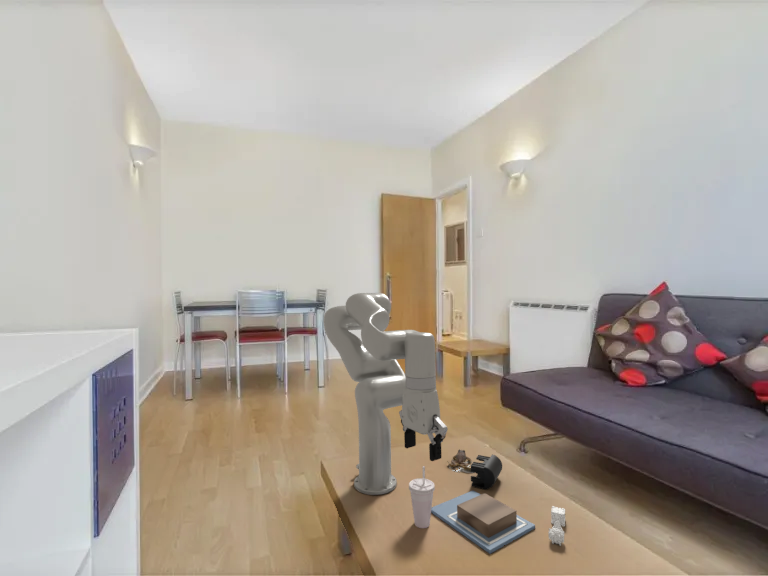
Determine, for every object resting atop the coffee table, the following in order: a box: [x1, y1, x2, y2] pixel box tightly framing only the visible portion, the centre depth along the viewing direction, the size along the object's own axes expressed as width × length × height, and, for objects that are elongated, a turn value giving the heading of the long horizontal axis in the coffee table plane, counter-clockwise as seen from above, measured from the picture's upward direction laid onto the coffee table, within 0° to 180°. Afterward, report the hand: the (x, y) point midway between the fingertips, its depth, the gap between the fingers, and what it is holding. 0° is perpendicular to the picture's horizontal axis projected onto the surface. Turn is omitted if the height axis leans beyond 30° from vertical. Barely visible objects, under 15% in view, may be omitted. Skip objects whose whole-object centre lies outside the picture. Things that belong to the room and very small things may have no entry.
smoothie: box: [408, 465, 436, 529], centre depth 96 cm, size 6×6×14 cm
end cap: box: [470, 454, 503, 491], centre depth 116 cm, size 10×7×7 cm
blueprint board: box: [431, 490, 536, 555], centre depth 97 cm, size 20×16×1 cm
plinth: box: [457, 493, 518, 538], centre depth 96 cm, size 10×10×3 cm
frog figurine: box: [446, 449, 475, 474], centre depth 128 cm, size 12×12×4 cm
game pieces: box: [548, 505, 566, 547], centre depth 92 cm, size 12×3×3 cm, turn 154°
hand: (422, 453), depth 96 cm, fingers open, 9 cm apart
